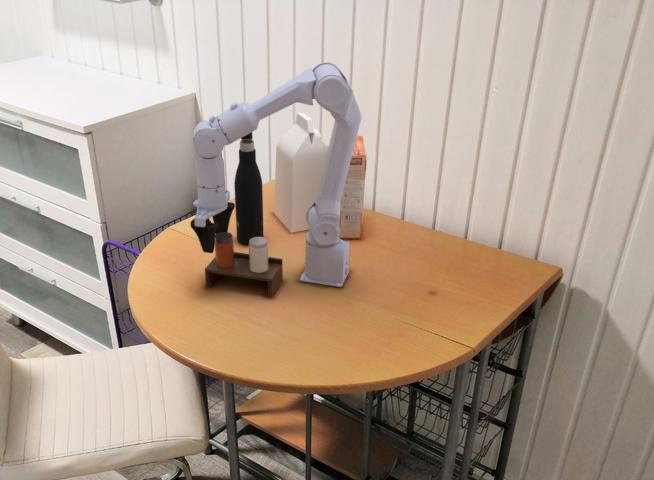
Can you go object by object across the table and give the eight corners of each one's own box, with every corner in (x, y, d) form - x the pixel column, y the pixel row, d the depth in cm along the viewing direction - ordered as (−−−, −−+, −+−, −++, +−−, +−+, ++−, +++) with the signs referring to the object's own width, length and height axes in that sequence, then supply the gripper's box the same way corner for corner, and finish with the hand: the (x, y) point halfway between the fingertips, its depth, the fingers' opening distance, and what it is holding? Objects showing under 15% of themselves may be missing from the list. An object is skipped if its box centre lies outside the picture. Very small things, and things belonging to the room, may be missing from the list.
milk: (273, 213, 190) (272, 111, 175) (314, 206, 194) (316, 106, 179) (291, 232, 181) (291, 127, 166) (334, 225, 185) (337, 120, 170)
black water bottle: (268, 238, 179) (266, 113, 161) (253, 248, 174) (249, 121, 157) (247, 231, 182) (242, 108, 164) (231, 241, 177) (225, 116, 160)
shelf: (282, 281, 162) (282, 258, 159) (272, 298, 156) (271, 275, 153) (218, 271, 165) (217, 249, 162) (206, 287, 160) (204, 265, 156)
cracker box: (362, 239, 178) (367, 155, 166) (337, 239, 178) (340, 155, 166) (359, 215, 189) (363, 134, 177) (335, 215, 190) (338, 134, 177)
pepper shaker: (237, 260, 160) (235, 233, 156) (230, 268, 157) (229, 241, 153) (220, 257, 161) (218, 230, 157) (213, 266, 158) (211, 238, 154)
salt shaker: (270, 265, 158) (270, 237, 154) (265, 274, 155) (264, 246, 151) (253, 262, 159) (252, 235, 155) (247, 271, 156) (245, 243, 152)
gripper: (206, 168, 156) (210, 227, 164) (178, 194, 144) (184, 256, 152) (237, 171, 154) (240, 231, 162) (211, 198, 143) (215, 261, 151)
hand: (215, 244), depth 157 cm, fingers open, 7 cm apart
